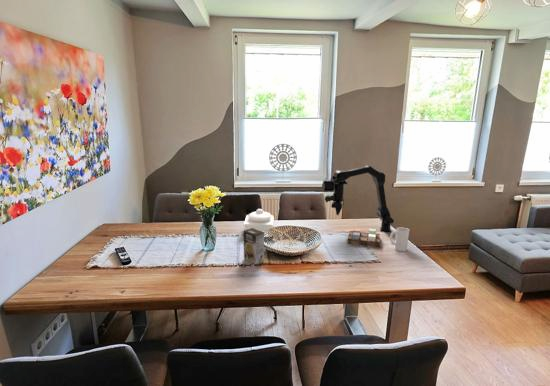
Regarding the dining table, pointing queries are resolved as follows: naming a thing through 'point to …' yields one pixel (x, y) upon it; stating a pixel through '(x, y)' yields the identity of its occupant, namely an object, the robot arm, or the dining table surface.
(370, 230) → the key sage
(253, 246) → the coffee box
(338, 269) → the dining table surface
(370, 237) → the cream white cube
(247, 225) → the white lidded jar
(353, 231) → the key terracotta
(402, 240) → the mug
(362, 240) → the brown shallow tray
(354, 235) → the key slate
